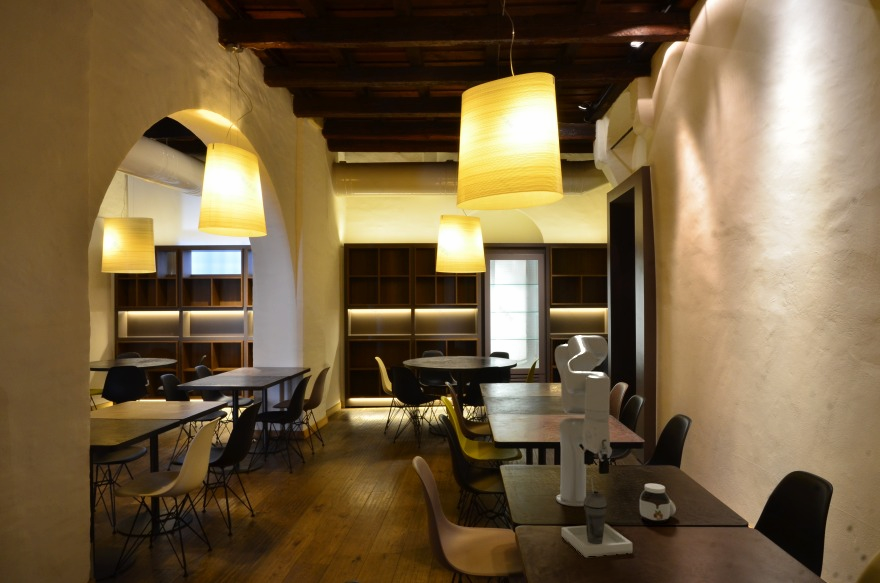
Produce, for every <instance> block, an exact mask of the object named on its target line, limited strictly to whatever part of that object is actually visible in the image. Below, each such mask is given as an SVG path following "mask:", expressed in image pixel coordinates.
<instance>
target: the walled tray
mask: <svg viewBox="0 0 880 583" xmlns="http://www.w3.org/2000/svg"><path fill="white" fill-rule="evenodd" d="M561 536H562V537H563V538H564V540H565V542H567V543H568V542H569V543H570V544H571V545H572V546H573V547H574V548H575V549H576V551H577V550H578V551H579V552H580V553H581V554H582V555H583V556H584V557H585V558H589V557H588V556H596V557H604V556H603V555H607V556H617V555H616V554H618V555H626V553H628V554H633V547H634V546H633V545H634V544H633V542H632V541H631V540H629V539H627V538H626V537H625V536H623V535H622V534H621V533H619V532H618V531H617V530H615V528H613V527H611V525H609V524H608V523H604V532H603V540H602V543H601V544H591V543H589V542H588V539H587V529H586V525H575V526H574V525H573V526H566V527H565V526H564V527H563V526H562V527H561ZM562 537H561V538H562ZM563 538H562V539H563ZM569 543H568V544H569ZM570 544H569V545H570ZM571 545H570V546H571ZM572 546H571V547H572ZM573 547H572V548H573ZM574 548H573V549H574ZM575 549H574V550H575ZM578 551H577V552H578ZM579 552H578V553H579ZM580 553H579V554H580ZM581 554H580V555H581ZM582 555H581V556H582ZM583 556H582V557H583ZM584 557H583V558H584Z"/></svg>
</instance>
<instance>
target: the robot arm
mask: <svg viewBox="0 0 880 583" xmlns="http://www.w3.org/2000/svg"><path fill="white" fill-rule="evenodd" d="M608 354H609V344H608V342H607V340H606V339H605V337H603V336H601V335H574V336H572V337H570V338H569V339H568V340H567V343H565V344H560V345H557V346H556V348H555V350H554V361H555V364H556V368H557V370H558V373H559V376H560V386H561V389H560V390H561V395H560V396H561V408H562V411H563V412H564V413H565V414H567V415H579V416H584V418H582V417H580V418H579V417H578V418H577V417H569V418H564V419H562V420H560V422H559V423H558V436H559V443H560V486H559V489H560V490H559V491H560V494H558V495H556V497H555V499H556V501H557V502H558V503H559V504H561V505H565V506H568V507H584V499H585V497H586V495H587V465H594V463H595V454H597V455H598V457H599V460H598V474H600V475H605V474H609V473H610V461H611V458H612V452H613V449H612V447H611V446H610V445H611V442H610V441H611V440H610V439H611V438H610V437H611V436H610V425H609V423H610V422H609V421H610V399H611V398H610V388H611V379H610V377H609V376H608V374H607V373H606V372H604V371H603V372H602V371H593V370H595V368H596V367H598V366H601V364H602V362H604V361H605V360H606V359H607V356H608ZM580 445H582V447H583V449H582V447H581V446H580Z"/></svg>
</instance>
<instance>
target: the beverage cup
mask: <svg viewBox="0 0 880 583" xmlns="http://www.w3.org/2000/svg"><path fill="white" fill-rule="evenodd" d="M590 483H591V484H590V485H591V491H590V492H588V493H586V497H585V499H584V506H583V509H584V513H585V514H584V515H585V526H586V529H587V539H588V542H589V543H591V544H601V543H602V540H603V532H604V524H605V519H606V514H607V513H606V512H607V508H608V504H607V503H608V502H607V500H606V497H605V495H603V494H602V493H601V492H599V491H596V490H595V489H594V478H593V477H590Z"/></svg>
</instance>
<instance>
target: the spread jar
mask: <svg viewBox="0 0 880 583" xmlns="http://www.w3.org/2000/svg"><path fill="white" fill-rule="evenodd" d="M639 496H640V497H639V514H640V516H641V517H642V518H643V519H644V520H645V521H648V522H649V521H650V522H649V523H653V522H656V523H655V524H662V522H663V523H664V522H667V521H668V519H669V518H670V517H672V516H673V515H674V514H675V513H676V511H677V510H676V509H677V507H676V504H675V503H674V501H672V500H671V499H670V497H669V496H668V494H667V493H666V486H664V485H662V484H659V483H650V482H649V483H645V484H644V490H643V491H642V492H641V494H640V495H639Z"/></svg>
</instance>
